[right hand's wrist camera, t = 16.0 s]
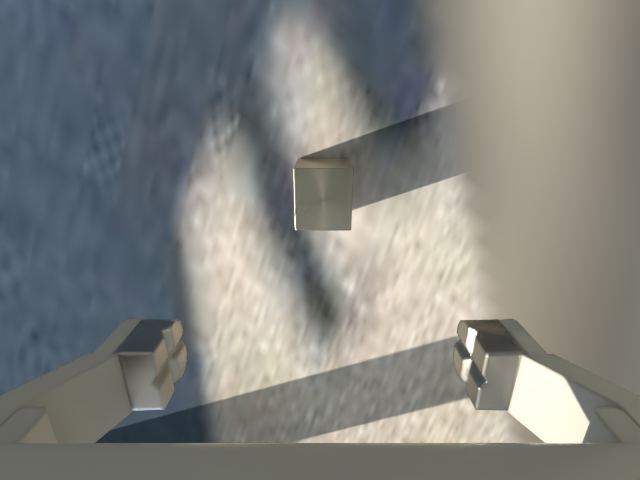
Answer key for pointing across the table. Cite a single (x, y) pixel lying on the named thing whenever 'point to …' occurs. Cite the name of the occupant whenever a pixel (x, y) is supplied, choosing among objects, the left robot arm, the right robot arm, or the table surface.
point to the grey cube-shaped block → (323, 194)
